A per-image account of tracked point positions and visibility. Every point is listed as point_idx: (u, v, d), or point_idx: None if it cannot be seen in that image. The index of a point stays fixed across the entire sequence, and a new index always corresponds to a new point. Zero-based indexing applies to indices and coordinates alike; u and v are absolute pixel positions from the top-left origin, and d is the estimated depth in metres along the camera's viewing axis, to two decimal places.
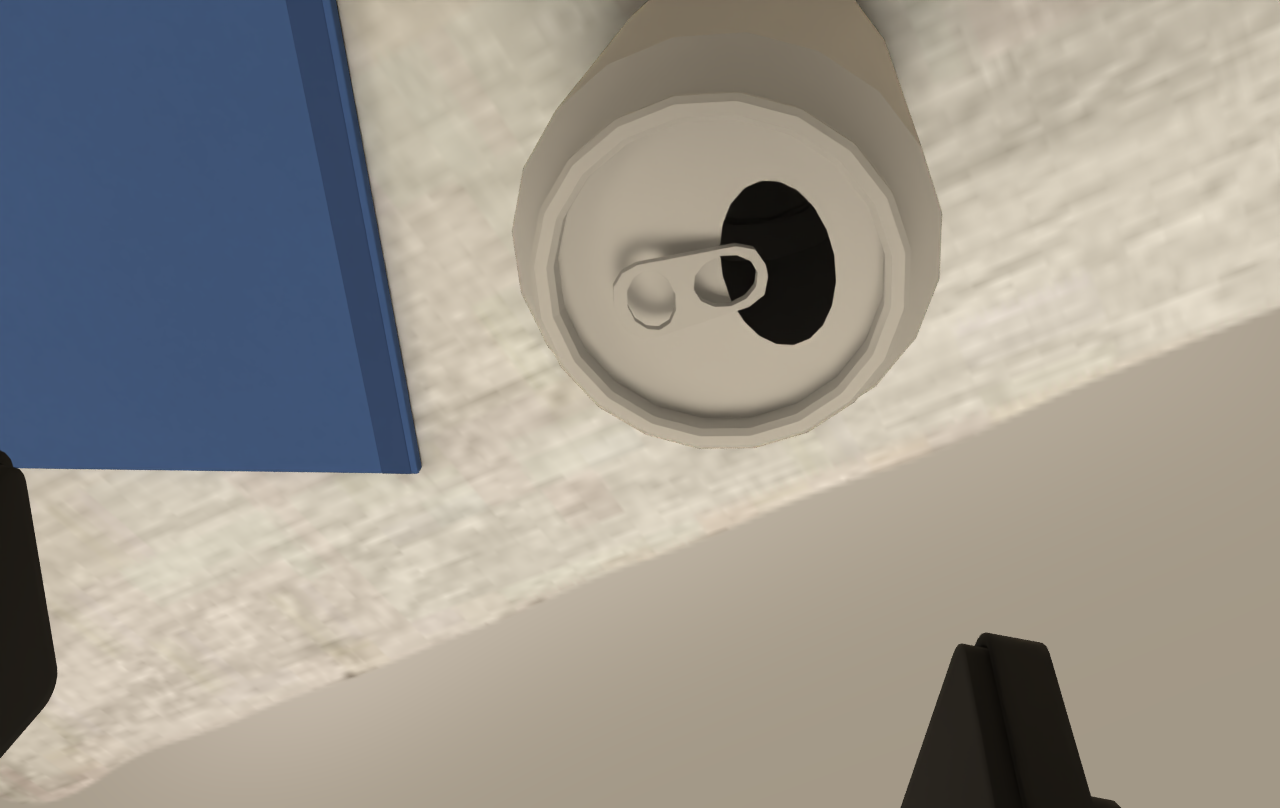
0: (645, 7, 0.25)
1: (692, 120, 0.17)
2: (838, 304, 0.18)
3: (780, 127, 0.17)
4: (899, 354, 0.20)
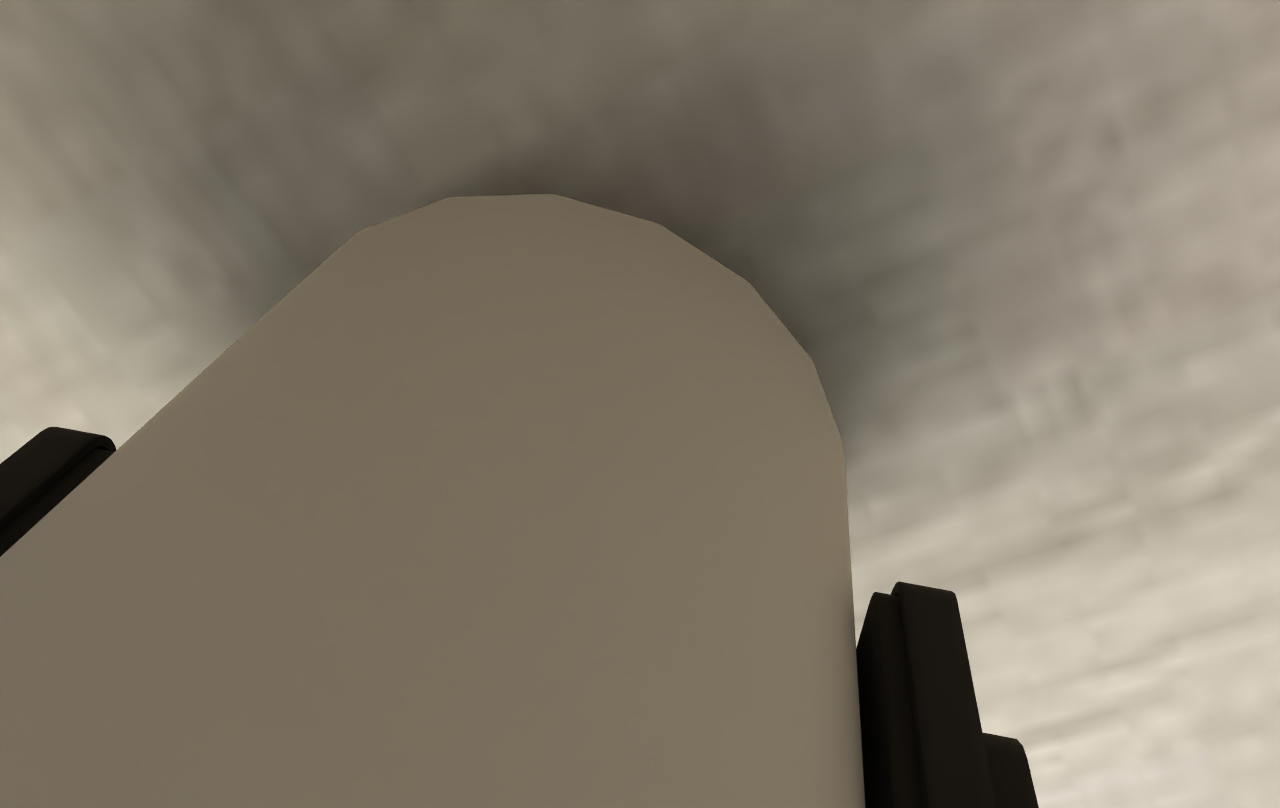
0: (261, 319, 0.11)
1: None
2: None
3: None
4: None
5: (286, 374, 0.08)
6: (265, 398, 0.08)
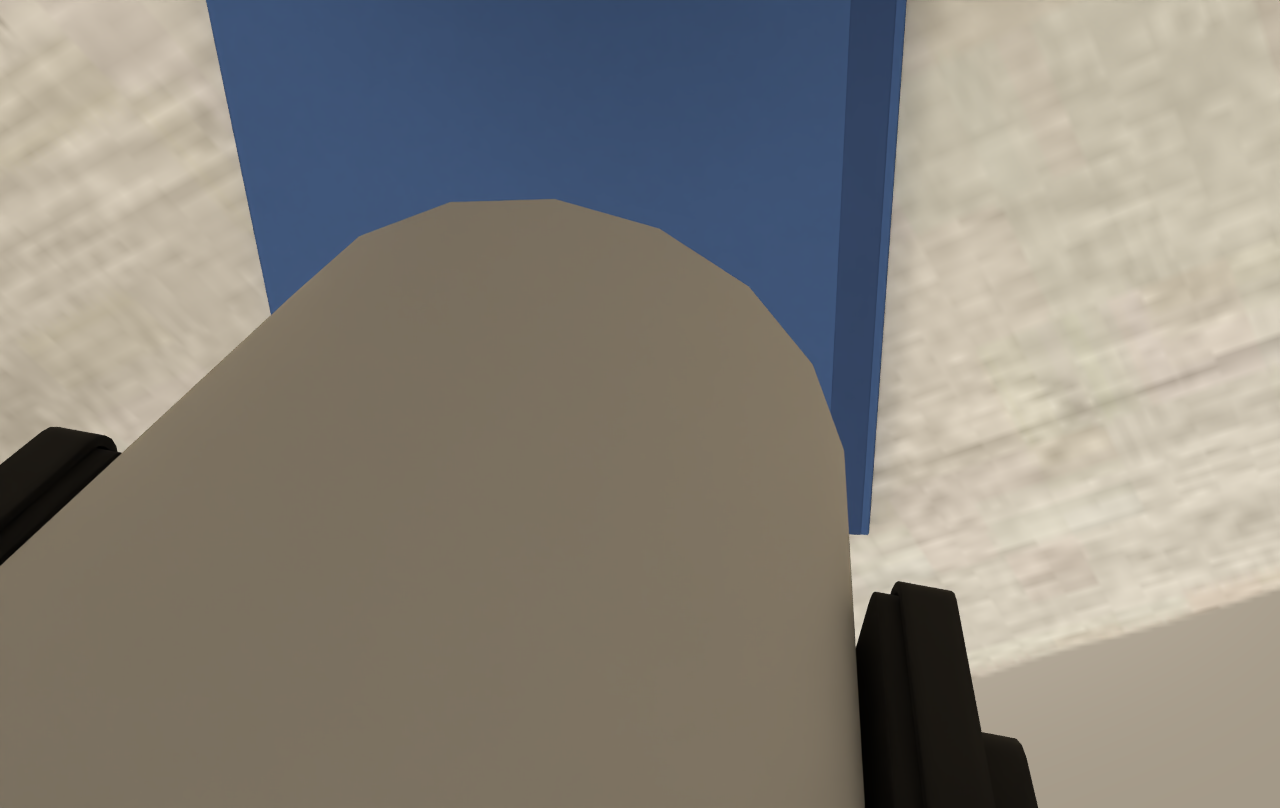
0: (263, 324, 0.11)
1: None
2: None
3: None
4: None
5: (287, 381, 0.08)
6: (268, 404, 0.08)
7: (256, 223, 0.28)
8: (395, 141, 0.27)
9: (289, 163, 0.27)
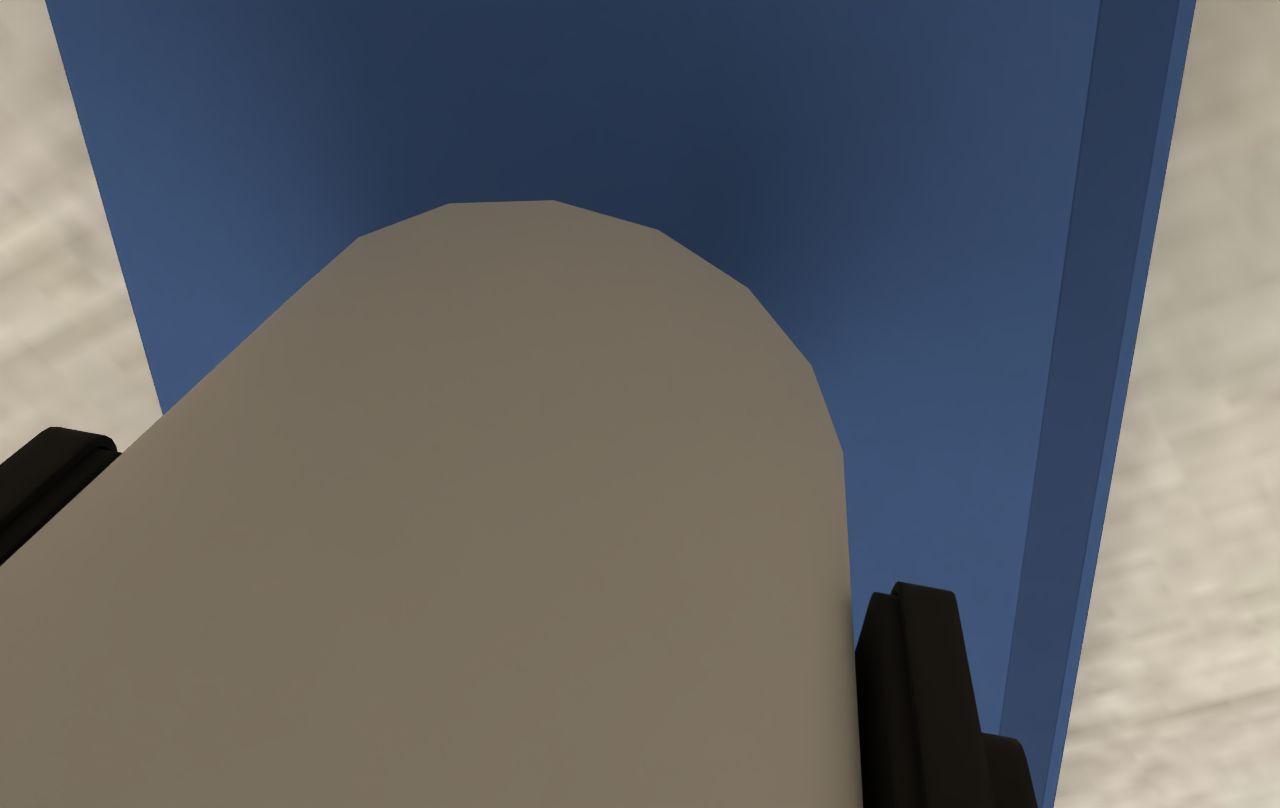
0: (262, 325, 0.11)
1: None
2: None
3: None
4: None
5: (287, 383, 0.08)
6: (267, 406, 0.08)
7: (162, 392, 0.19)
8: None
9: (205, 311, 0.18)
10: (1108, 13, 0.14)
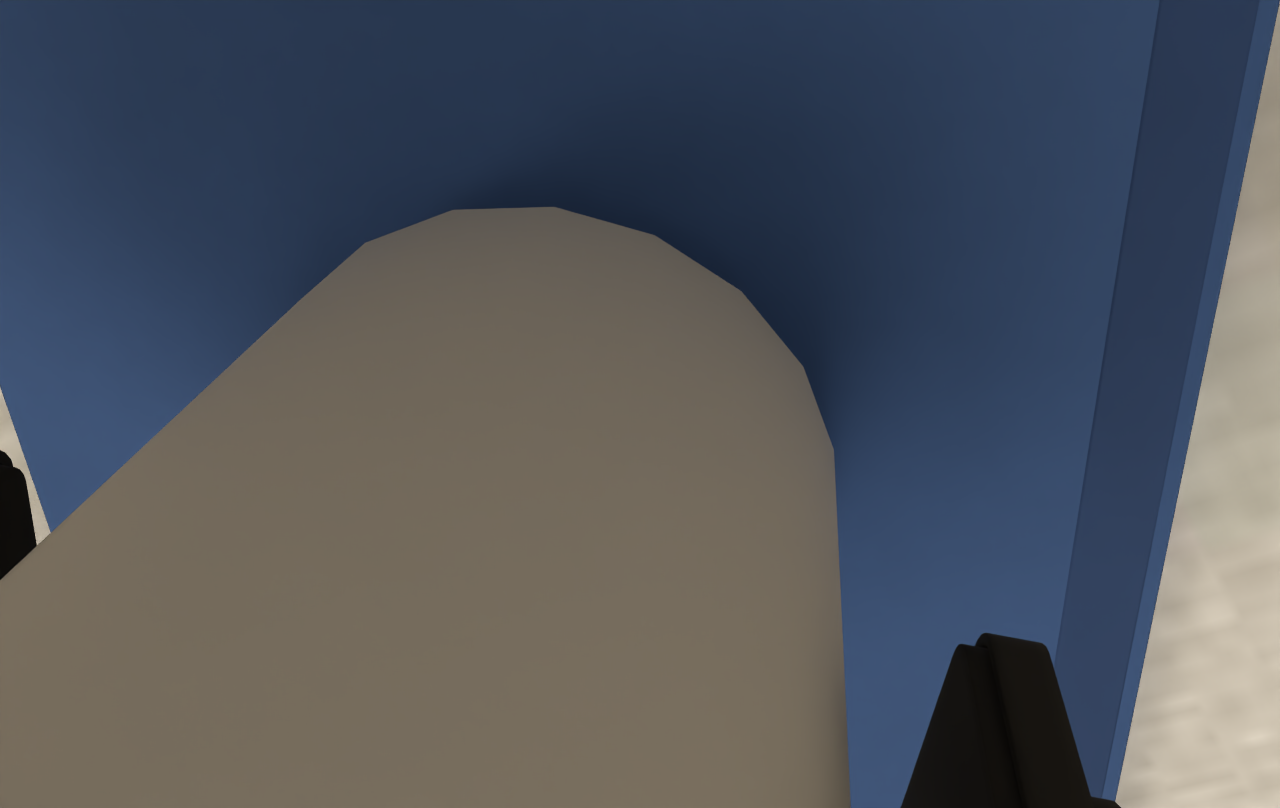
0: (273, 327, 0.11)
1: None
2: None
3: None
4: None
5: (299, 379, 0.09)
6: (282, 401, 0.08)
7: (49, 508, 0.17)
8: None
9: (94, 419, 0.16)
10: (1157, 89, 0.12)
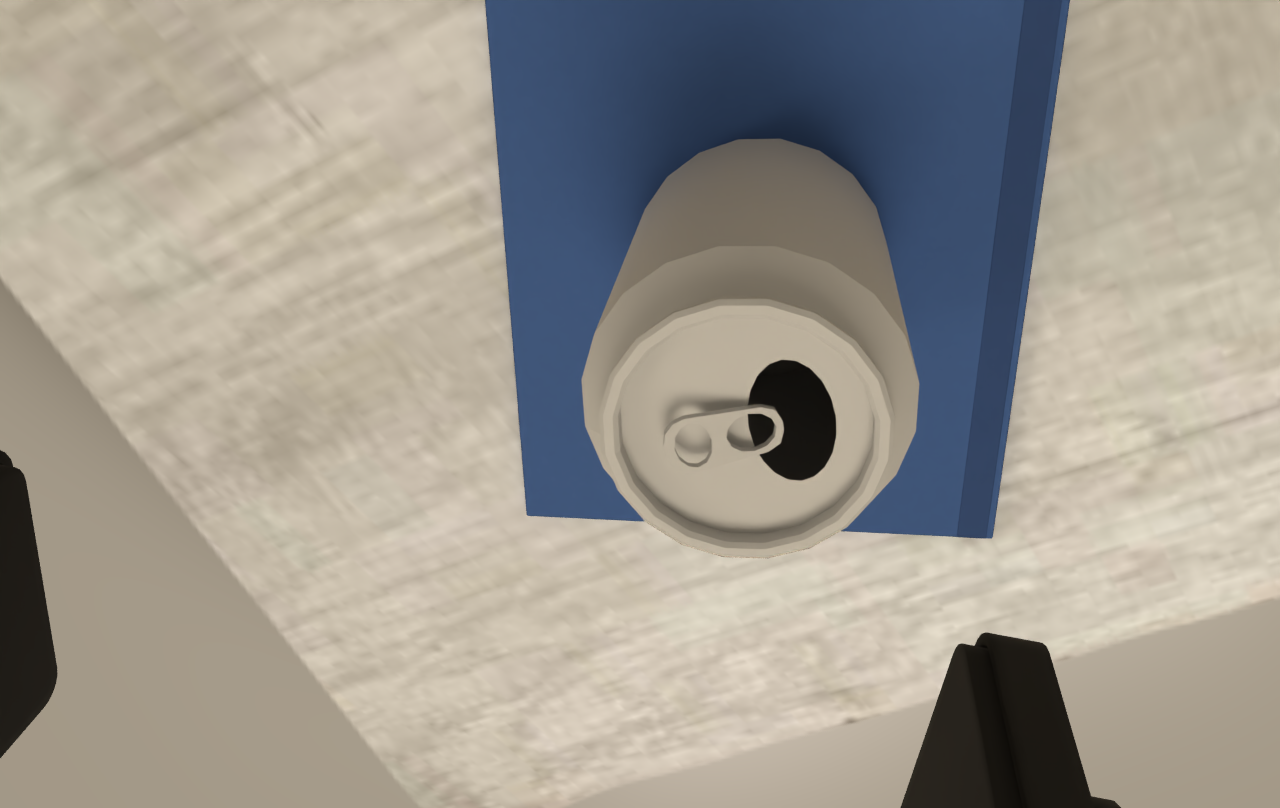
0: (682, 178, 0.30)
1: (733, 317, 0.22)
2: (837, 452, 0.24)
3: (799, 325, 0.22)
4: (882, 487, 0.25)
5: (731, 181, 0.27)
6: (731, 185, 0.27)
7: (511, 284, 0.35)
8: (635, 222, 0.34)
9: (545, 238, 0.34)
10: (1016, 97, 0.31)
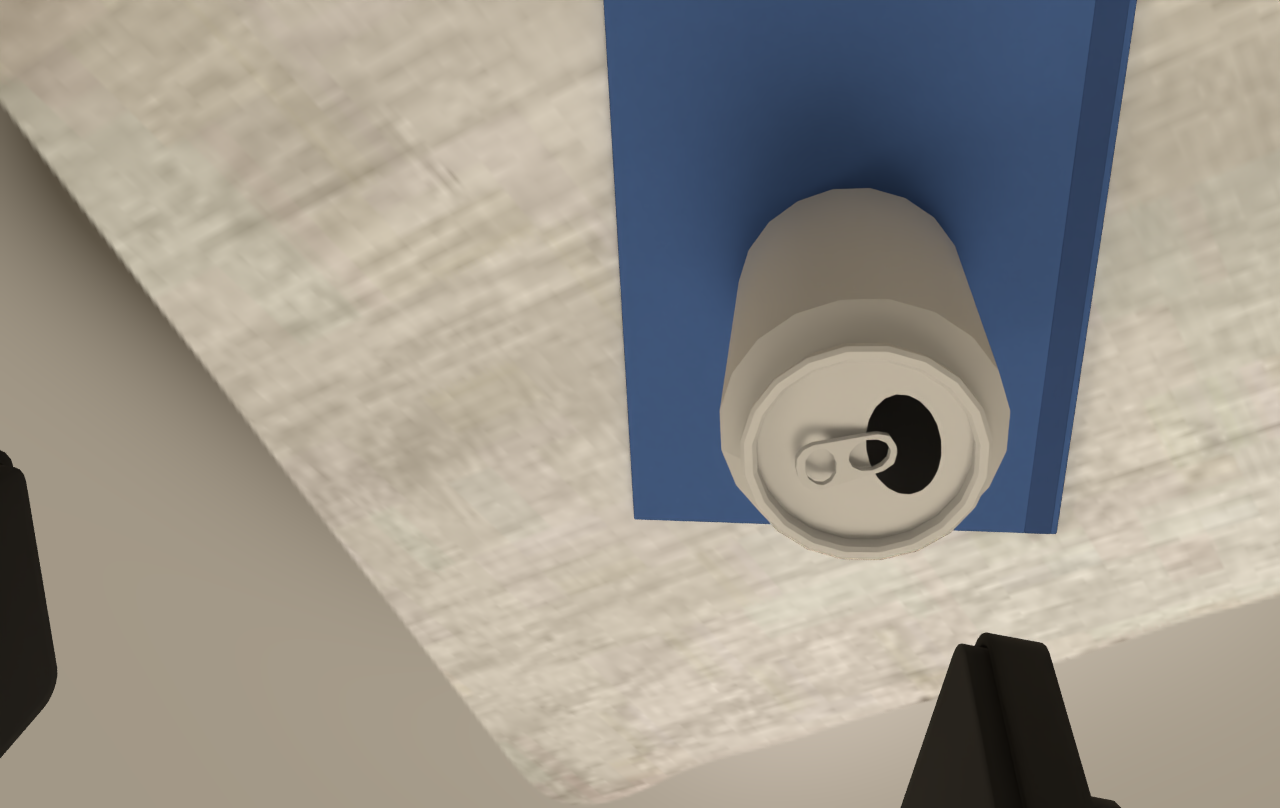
0: (786, 227, 0.34)
1: (857, 361, 0.26)
2: (941, 470, 0.28)
3: (913, 367, 0.26)
4: None
5: (837, 233, 0.32)
6: (837, 238, 0.31)
7: (625, 315, 0.40)
8: (737, 260, 0.38)
9: (657, 275, 0.39)
10: (1079, 147, 0.35)
